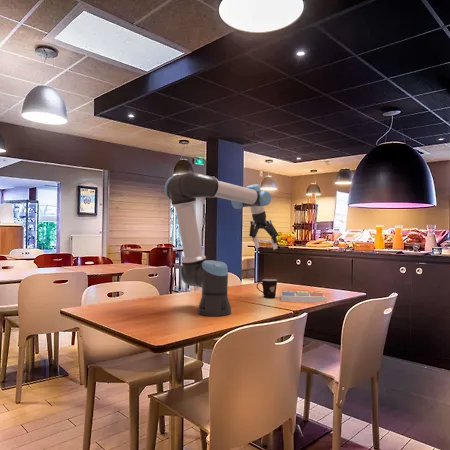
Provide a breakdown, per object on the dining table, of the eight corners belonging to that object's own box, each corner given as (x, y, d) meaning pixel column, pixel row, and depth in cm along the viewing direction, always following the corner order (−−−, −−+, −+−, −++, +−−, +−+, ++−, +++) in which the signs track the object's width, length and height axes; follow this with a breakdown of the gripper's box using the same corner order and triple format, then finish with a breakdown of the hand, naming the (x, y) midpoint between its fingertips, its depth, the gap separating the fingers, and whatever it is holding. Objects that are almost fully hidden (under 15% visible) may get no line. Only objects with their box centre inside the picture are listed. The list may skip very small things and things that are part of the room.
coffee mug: (276, 296, 224) (277, 279, 224) (277, 299, 215) (277, 281, 215) (256, 296, 225) (256, 278, 225) (256, 298, 216) (256, 280, 216)
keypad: (281, 301, 207) (281, 296, 207) (280, 298, 217) (280, 293, 217) (325, 302, 206) (325, 297, 206) (322, 299, 216) (322, 294, 216)
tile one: (283, 297, 209) (283, 291, 209) (282, 295, 215) (282, 290, 215) (294, 298, 209) (294, 292, 209) (293, 296, 215) (293, 290, 215)
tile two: (297, 298, 209) (297, 292, 209) (296, 296, 215) (296, 290, 215) (308, 298, 208) (308, 292, 208) (307, 296, 214) (307, 290, 214)
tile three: (311, 298, 208) (311, 292, 208) (309, 296, 214) (309, 290, 214) (322, 298, 208) (322, 292, 208) (320, 296, 214) (321, 290, 214)
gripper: (279, 209, 209) (287, 246, 213) (247, 211, 227) (255, 245, 231) (270, 213, 204) (278, 251, 208) (238, 214, 223) (246, 249, 227)
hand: (266, 248), depth 220 cm, fingers open, 13 cm apart
